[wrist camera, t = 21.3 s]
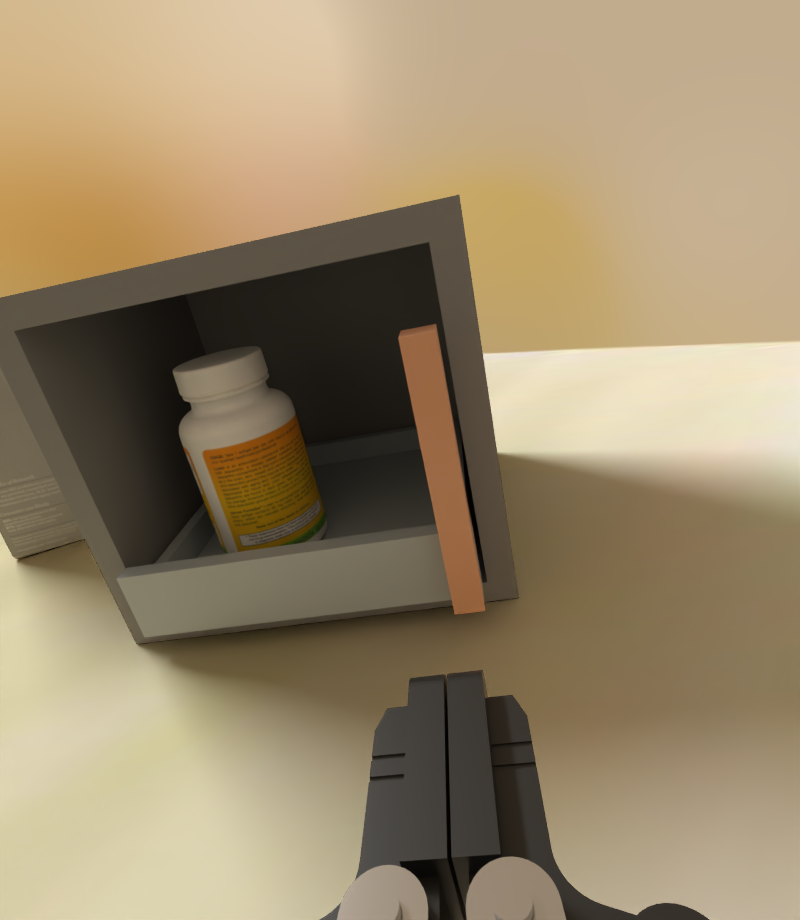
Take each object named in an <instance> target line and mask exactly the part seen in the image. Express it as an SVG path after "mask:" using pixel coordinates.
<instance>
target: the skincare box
mask: <svg viewBox="0 0 800 920" xmlns="http://www.w3.org/2000/svg"><path fill="white" fill-rule="evenodd" d="M0 532H1V534H2V536H3V538H4V540H5V542H6V544H7V546H8V548H9V550H10V552H11V554H12V556H13V557H14V558H16V559H19V558H22V557H25V556H29V555H32V554H35V553H39V552H42V551H45V550H48V549H52V548H55V547H58V546H61V545H65V544H68V543H72V542H75V541H79V540H82V539H85V538H84V536H83V534H82V532H81V530H80V528H79V526H78V524H77V522H76V520H75V518H74V516H73V514H72V512H71V510H70V508H69V506H68V504H67V502H66V500H65V498H64V496H63V494H62V492H61V489H60V487H59V485H58V483H57V481H56V479H55V477H54V475H53V473H52V471H51V469H50V467H49V465H48V463H47V461H46V459H45V457H44V455H43V453H42V451H41V449H40V447H39V445H38V443H37V441H36V439H35V437H34V435H33V433H32V431H31V429H30V426H29V424H28V422H27V420H26V418H25V416H24V414H23V412H22V410H21V408H20V406H19V404H18V402H17V400H16V398H15V396H14V394H13V392H12V390H11V388H10V386H9V384H8V382H7V380H6V378H5V376H4V374H3V372H2V370H1V368H0Z"/></svg>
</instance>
